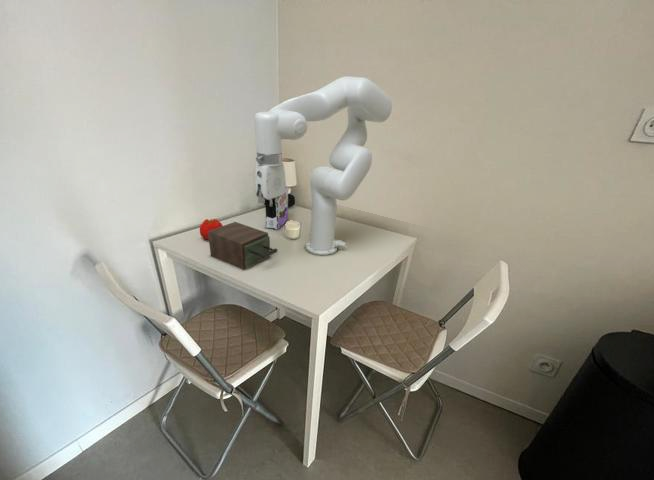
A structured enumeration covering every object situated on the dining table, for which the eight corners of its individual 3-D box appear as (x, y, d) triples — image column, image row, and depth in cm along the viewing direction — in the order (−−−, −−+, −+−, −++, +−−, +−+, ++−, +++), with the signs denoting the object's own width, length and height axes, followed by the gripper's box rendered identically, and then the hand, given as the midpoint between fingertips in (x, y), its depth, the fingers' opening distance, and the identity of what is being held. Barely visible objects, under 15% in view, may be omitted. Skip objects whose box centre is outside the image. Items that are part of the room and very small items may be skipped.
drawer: (281, 260, 126) (281, 240, 122) (259, 272, 118) (258, 251, 114) (239, 244, 136) (238, 225, 132) (216, 255, 127) (213, 235, 123)
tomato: (219, 233, 147) (218, 216, 143) (227, 240, 141) (225, 223, 137) (197, 236, 142) (195, 219, 138) (204, 244, 136) (201, 226, 132)
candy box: (277, 230, 153) (277, 193, 144) (265, 228, 155) (264, 191, 146) (288, 220, 165) (288, 185, 156) (276, 218, 166) (276, 183, 157)
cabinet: (268, 257, 130) (268, 232, 125) (243, 269, 121) (241, 244, 116) (236, 245, 138) (234, 221, 133) (210, 256, 128) (207, 231, 123)
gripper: (262, 164, 97) (265, 226, 107) (293, 156, 108) (293, 213, 118) (242, 160, 100) (247, 220, 111) (275, 153, 111) (276, 208, 121)
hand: (271, 216), depth 114 cm, fingers closed
